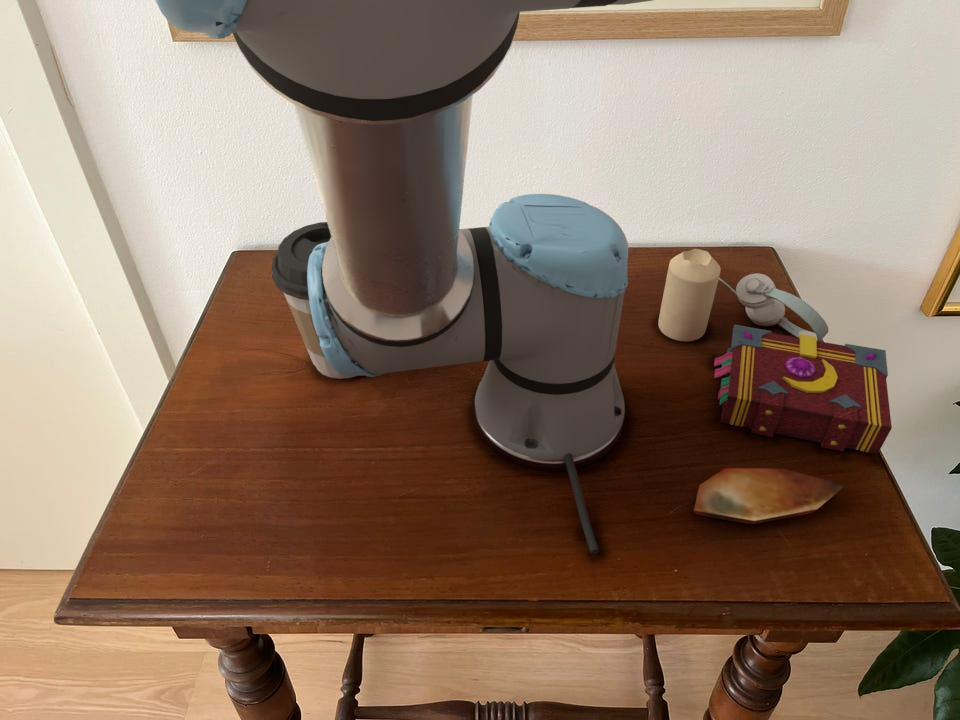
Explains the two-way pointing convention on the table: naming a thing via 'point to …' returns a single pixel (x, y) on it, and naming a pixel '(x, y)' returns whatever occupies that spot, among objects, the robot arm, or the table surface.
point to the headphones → (776, 306)
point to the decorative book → (805, 389)
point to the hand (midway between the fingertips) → (393, 222)
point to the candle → (688, 295)
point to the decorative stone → (761, 495)
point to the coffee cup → (302, 286)
